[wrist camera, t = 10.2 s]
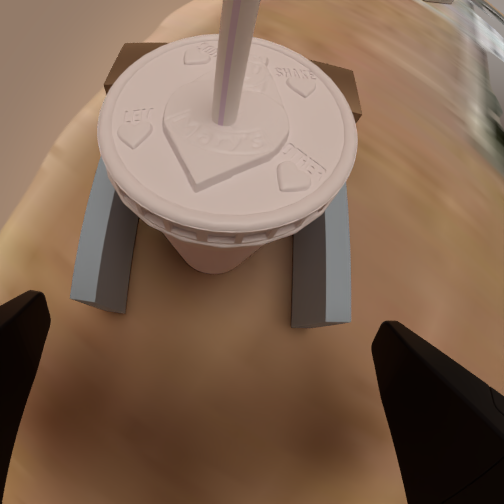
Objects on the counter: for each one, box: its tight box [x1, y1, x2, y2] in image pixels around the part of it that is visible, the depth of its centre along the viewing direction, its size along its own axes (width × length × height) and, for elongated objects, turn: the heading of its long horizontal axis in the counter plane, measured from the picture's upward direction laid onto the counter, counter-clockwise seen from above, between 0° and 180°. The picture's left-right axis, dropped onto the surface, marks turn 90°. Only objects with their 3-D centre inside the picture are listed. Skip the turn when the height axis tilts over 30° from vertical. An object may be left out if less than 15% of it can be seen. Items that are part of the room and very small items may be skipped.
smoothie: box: [97, 0, 357, 274], centre depth 9 cm, size 6×6×14 cm
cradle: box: [70, 156, 351, 328], centre depth 14 cm, size 8×10×4 cm
